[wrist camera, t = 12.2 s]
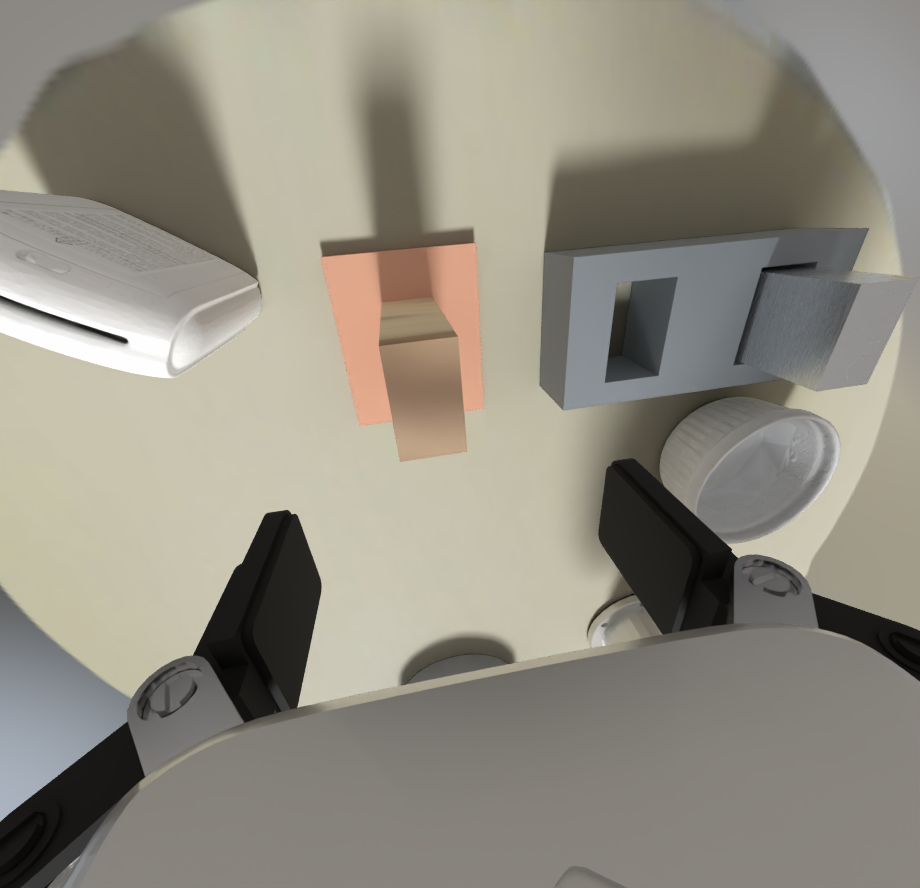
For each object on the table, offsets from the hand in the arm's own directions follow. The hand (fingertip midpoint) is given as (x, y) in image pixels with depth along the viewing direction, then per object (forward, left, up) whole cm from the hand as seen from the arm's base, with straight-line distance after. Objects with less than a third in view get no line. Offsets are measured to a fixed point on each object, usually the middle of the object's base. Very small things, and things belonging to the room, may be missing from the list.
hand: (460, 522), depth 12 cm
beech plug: (0, 0, -19) cm, 19 cm away
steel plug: (+1, -25, -20) cm, 32 cm away
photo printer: (+6, +14, -20) cm, 26 cm away
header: (+1, -20, -20) cm, 28 cm away
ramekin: (-13, -28, -20) cm, 37 cm away
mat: (+1, 0, -20) cm, 20 cm away
